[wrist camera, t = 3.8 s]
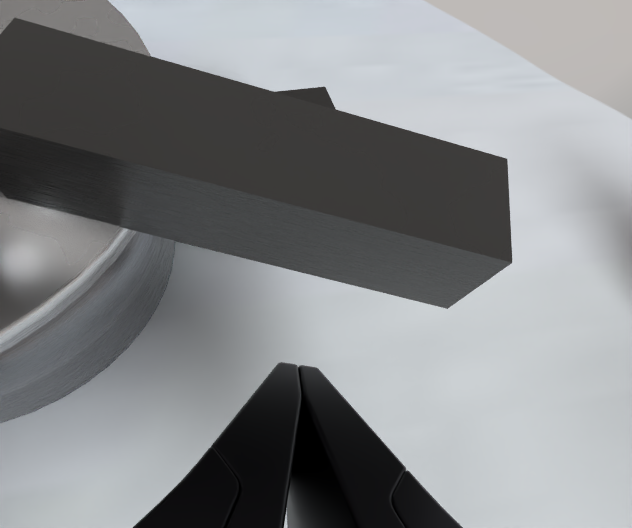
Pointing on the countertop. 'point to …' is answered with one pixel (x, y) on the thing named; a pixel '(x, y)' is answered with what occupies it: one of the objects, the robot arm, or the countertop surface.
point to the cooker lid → (215, 174)
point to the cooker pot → (96, 320)
